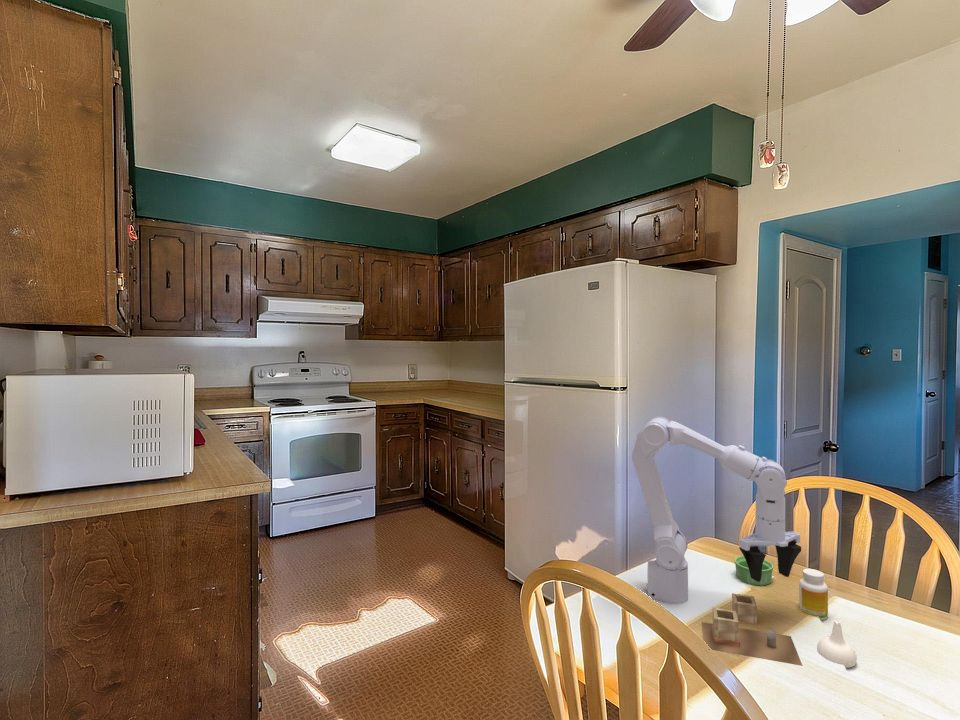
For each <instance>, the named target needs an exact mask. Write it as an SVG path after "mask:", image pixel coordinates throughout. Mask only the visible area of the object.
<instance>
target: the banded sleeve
mask: <svg viewBox="0 0 960 720" xmlns="http://www.w3.org/2000/svg"><path fill="white" fill-rule="evenodd" d="M731 610H732V611H736V614H737V618H738V623H743V624H747V625H754V626H757V625H759V622H758V621H759V620H758V606H757V602H756V599H755V595H754V596H753V595H746V594H740V593H733V592H732V593H731Z"/></svg>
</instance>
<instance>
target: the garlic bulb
mask: <svg viewBox="0 0 960 720" xmlns="http://www.w3.org/2000/svg"><path fill="white" fill-rule="evenodd" d="M841 623H842V621H841V620H838V619H833V626H832V630H831V634H830V636H824V637H822V638H820V639H819V641H818V642H817V646H816V647H817V653H818V654H819V655H820V656H821V657H823V658H824V659H826V660H828V661H830V662H833V663H835V664H839V665H843V666H844V668H845V669H850V668H852V667H854V666H855V665H856V664H857V661H858V659H857V658H858V657H857V654H856V651H855V649H854V648H853V646H852V645H851V644H850V643H849V642H847V641H846V640H845V639H844V635H843V630H842V624H841Z"/></svg>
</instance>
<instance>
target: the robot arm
mask: <svg viewBox="0 0 960 720" xmlns="http://www.w3.org/2000/svg"><path fill="white" fill-rule="evenodd" d="M667 442H669V447H671V446H678V445H680V446H681V445H685V446H687V447H690V448H691V449H694V450H696V451H699V452H701V453H704V454H705V455H708V456H710V457H713V458H715V459H717V460H718V461H719V463H720V466H721V467H722V468H724V469H725V470H727V471H729V472H732V474H733V473H734V474H735V475H738V476H739V477H742V478H744V479H745V480H747V481H751V482H755V485H756V494H755V530H754V531H755V532H754V533H752V534H750V535H747V536H746V537H742V538H738V540H739V541H738V542H739V543H738V544H739V551H740V552H741V554H742V556H743V555H744V557H745V560H746V562H747V565H748V568H749V572H750V576H751V578H752V579H754V580H755V581H757V582H760V581H761V576H762V565H763V561H764V559H766V557H767V554H766V553H764V552H762V551H761V549H759V548H763V547H770V546H774V547H775V550H776V557H777V570H778V574H780V575H782V576H784V577H786V578H789V577H790V574H791V571H792V569H793V565H794V562H795V561H796V559H797V557H798V556H799V554H800V553H801V552H802V546H801V545H798V544H801V534H800V533H798V532H795V531H794V530H793V531H786V497H785V495H786V490H785V489H786V487H787V484H788V481H787V476H786V472H785V470H784V468H783V467H782V466H781V464H779V463H778V462H776V461H775V460H773V459H768V458H767V457H765V456H762V457H760V456H759V455H756V454H754V453H751V451H747V450H746V447H745V446H743V445H741V444H739V445H734V444H730V445H727V446H726V445H722V444H720V443H719V442H716V441H714V440H712V439H710V438H709V437H706V436H705V435H704V434H703V435H702V434H701V433H699V432H698V431H695V430H693V429H691V428H690V427H687V426H686V425H684V424H682V423H680V422H677V421H675V420H669V419H668V418H666V417H664V416H655V417H653V418H651V419H650V420H649V421H648V422H647V423H645V424H644V425H643V426H642V427H641V428H640V430H639V431H638V432H637V433H636V439H635V443H634V447H633V449H632V452H631V460H632V463H633V466H634V470H635V472H636V475H637V478H638V482H639V486H640V488H641V491H642V494H643V498H644V501H645V504H646V507H647V510H648V514H649V516H650V520H651V523H652V526H653V540H654V543H655V549H654V550H655V551H654V556H655V560H654V559H653V560H652V559H651V560H647V583H646V592H647V596H648V595H649V596H650V597H651V598H652V599H651V600H655V601H656V600H657V601H662V602H665V603H669V604H674V605H677V604H678V605H679V604H684V603H686V602H688V600H689V563H688V561H687V560H686V558H685V554H686V552H687V550H688V547H689V546H688V540H687V538H686V537H685V535H684V534H683V533H682V532H681V530H680V528H679V525H678V524H677V522H676V521H675V519H674V517H673V514H672V510H671V508H670V507H671V506H670V505H669V500H668V498H667V495H666V491H665V488H664V485H663V482H662V479H661V476H660V474H659V473H660V472H659V469H658V466H657V464H656V463H657V462H656V460H655V457H656V455H657V454H658V452H659V451H660V449H662V448H663V447H664V446H666V444H667ZM653 594H654V595H653Z"/></svg>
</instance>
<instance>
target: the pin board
mask: <svg viewBox="0 0 960 720" xmlns="http://www.w3.org/2000/svg"><path fill="white" fill-rule="evenodd" d="M711 625H712V626H713V623H710V622H705V621H701V629H702V630H701V631H702V641H703V640H704V641H705V642H706V644H708V646H709V647H710V648H711V649H712V650H711V651H717V652H722V653H728V654H733V655H738V656H745V657H750V658H756V659H761V660H762V659H763V660H768V661H773V662H778V663H779V662H780V663H784V664H791V665H795V666H803V664H802V662H801V658H800V656H799V654H798V651H797V648H796V645H795V643H794V641H793V638H792V636H791V635H785V634H779V633H777V631H776V630H774V629H771V628H769V629H767V630H766V631H762V630H761V631H760V630H755V629H747V628H742V627H738V629H739V638H740V647H734V646H729V645H723V644H717V643H713V638H712V631H711ZM704 641H703V642H704Z"/></svg>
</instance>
